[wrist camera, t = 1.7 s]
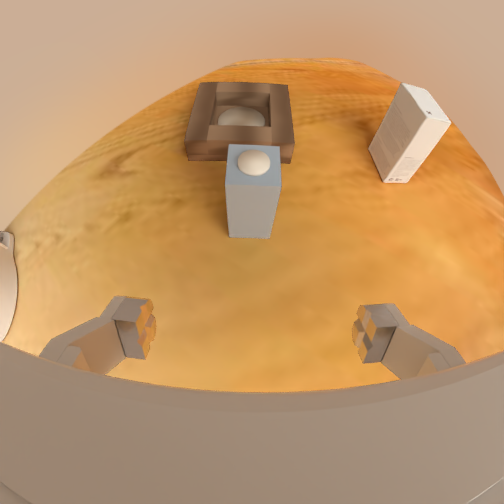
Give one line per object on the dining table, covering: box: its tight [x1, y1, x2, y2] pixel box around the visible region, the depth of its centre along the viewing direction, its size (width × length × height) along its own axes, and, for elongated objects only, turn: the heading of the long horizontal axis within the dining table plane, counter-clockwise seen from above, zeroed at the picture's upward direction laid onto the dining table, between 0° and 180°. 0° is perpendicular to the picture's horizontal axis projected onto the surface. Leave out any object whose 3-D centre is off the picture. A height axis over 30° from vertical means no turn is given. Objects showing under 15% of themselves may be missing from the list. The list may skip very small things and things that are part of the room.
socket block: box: [184, 82, 295, 164], centre depth 31 cm, size 12×12×4 cm
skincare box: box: [368, 83, 451, 183], centre depth 27 cm, size 6×4×12 cm
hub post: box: [225, 144, 282, 239], centre depth 24 cm, size 4×4×9 cm
